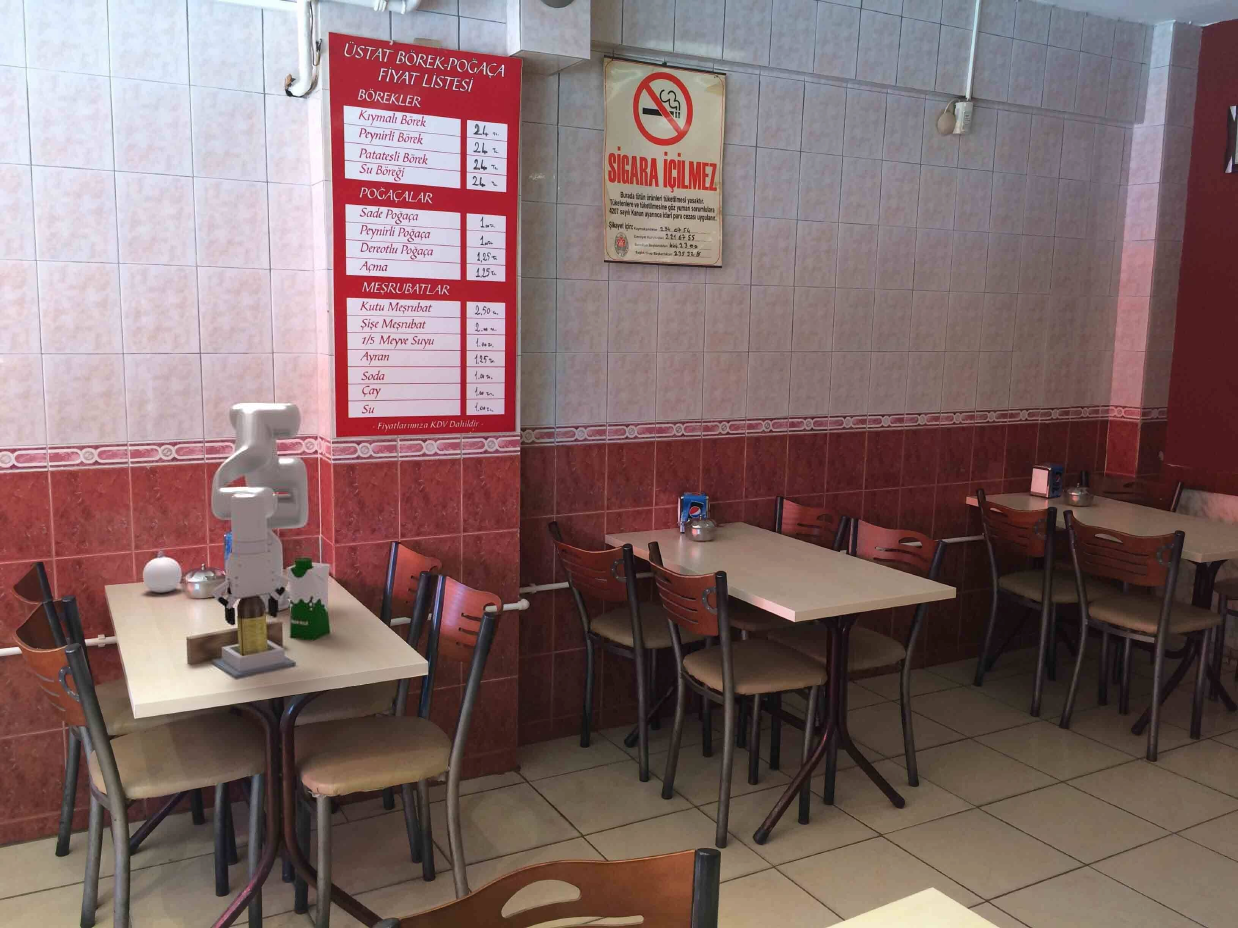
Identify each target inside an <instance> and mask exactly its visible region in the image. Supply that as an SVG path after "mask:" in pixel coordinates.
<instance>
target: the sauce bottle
mask: <svg viewBox="0 0 1238 928" xmlns="http://www.w3.org/2000/svg"><path fill="white" fill-rule="evenodd" d="M236 611H237V612H236V613H237V616H236V621H237V624H236V625H237V628H238V644H239V654H240V655H242V656H246V655H251V654H256V653H260V652H265V651H268V644H267V627H266V622H267V614H266V608H265V604H264V602H263V600H262V599H261V597H260V596H253V597H247V598H241V599H239V601H238V603H237V606H236Z"/></svg>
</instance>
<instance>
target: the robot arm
mask: <svg viewBox="0 0 1238 928" xmlns="http://www.w3.org/2000/svg"><path fill="white" fill-rule="evenodd" d="M228 418H229V422H230V424H231V426H232V428H233V430H235V441H234V453H233V454H231V455H230V456H228V458H227V459H225V460H224V461H223V462H222V463H221V465H220V466H219V467H218V469H216V471H215V474H214V476H213V479H212V487H211V488H212V489H211V496H210V497H211V499H210V500H211V502H210V503H211V504H210V505H211V511H212V514H213V515H214V517H215V518H216V519H219V520H223V521H225V520H228V521H230V522H231V523H230V524H231V546H232V547H231V549H232V550H231V551H232V552H231V553H230V552H229V553H228V555H227V561H226V567H225V569H226V570H225V581H223V582H222V583H221V584H218V586H215V587H214V588H213V589H212V590H211V593H212V595H213V597H214V598H215V599H216V602H218V603H220V604H221V605H222V606H223V607H224V619H225V622H226V623H227V624H228V625H231V626H235V625H236V609H235V607H234V606H235V603H236V602H237V601H238V600H240V599H241V598H247V597H253V596H260V597H261V599H262V600H263V602H264V604H265V608H266V613H267V614H268V615H269V616H271V617H272V618H273V619H274V618H277V617H278V612H279V611H283V610H286V609H287V608H290V589H286V588H287V587H288V583H289V578H286V577H284V565H283V564H284V561H283V559H284V558H283V543H282V541H281V540H280V538H279V537H278V536H277V534H276V533H274V531H272V530H278V529H279V530H282V529H283V530H284V529H298V528H303V527H304V526H306V525H307V523H308V520H309V491H308V490H309V489H308V486H309V485H308V475H307V472H308V471H307V467H306V464H305V462H304V461H303V460H302V459H301V458H300V457H294V456H282V457H281V456H278V444H277V439H294V438H295V437H297V435H298V434H299V431H300V427H301V423H302V421H301V420H302V419H301V412H300V409H299V407H298V406H297V404H295V403H293V402H291V403H289V402H281V403H280V402H244V403H243V402H242V403H236V404H234V405H232V406H231V407H230V409H229V411H228ZM241 477H245V478H244V480H245V485H246V486H230V487H229V485H230V484H231V483H232V482H234V481H235V480H238V479H239V478H241ZM278 493H282V494H278ZM283 493H284V494H283ZM224 591H225V594H226V595H227V596H226V597H223V595H222V593H223V592H224Z"/></svg>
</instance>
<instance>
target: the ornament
mask: <svg viewBox="0 0 1238 928" xmlns="http://www.w3.org/2000/svg"><path fill="white" fill-rule="evenodd" d="M182 573H183V572H182V567H181V566H180V564H179V563H178V562H177V561H176V560H175V559H173V558H171V557H166V556H165V554H164V551H163V550H158V553H157V558H153V559H151V560H150V561H149V562H147V563H146V565H145V566H144V568H143V571H142V580H143V584H144V585H145V586H146V588H147V589H148V590H149V591H152V592H155V593H160V594H161V593H162V594H163V593H168V592H171V591H173V590H175V589H176V588H177V587H179V585H180V583H181V580H182Z"/></svg>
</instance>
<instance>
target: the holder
mask: <svg viewBox="0 0 1238 928" xmlns="http://www.w3.org/2000/svg"><path fill="white" fill-rule="evenodd" d="M267 644H268V651H265V652H260V653H256V654H251V655H246V656H242V655H240V654H239V644H237V645H231V646H226V647H222V658H217V659H212V660H210V661H211V664H212V665H214V666H215V667H217V668H218V669H219V670H221V671H223V672H224V673H225V674H227V675H228V676H230V677H232V678H233V679H236V680H237V679H242V678H245V677H251V676H254V675H259V674H264V673H268V672H272V671H278V670H282V669H287V668H292V667H295V666H297V662H296V661H295V660H293V659H291V658H289V657H287V656H286V652H285V650H286V649H285V648H284V647H282V646H278V645H276V644H274V643H272V642H271V641H269V640H267Z"/></svg>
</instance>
